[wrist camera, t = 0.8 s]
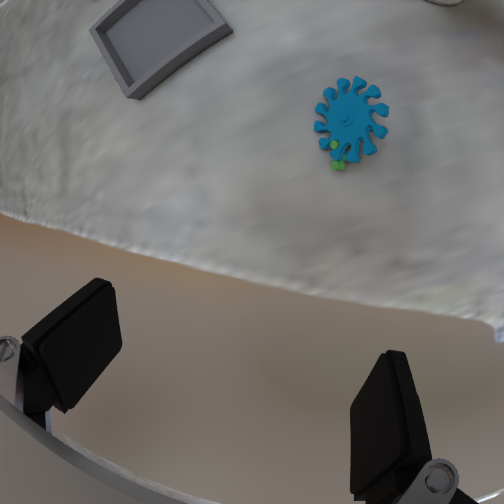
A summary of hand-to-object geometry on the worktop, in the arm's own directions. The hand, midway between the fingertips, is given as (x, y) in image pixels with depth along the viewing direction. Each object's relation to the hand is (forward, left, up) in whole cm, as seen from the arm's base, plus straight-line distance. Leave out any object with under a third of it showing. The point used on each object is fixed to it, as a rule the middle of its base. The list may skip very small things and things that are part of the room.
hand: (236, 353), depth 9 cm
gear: (-10, -4, -29) cm, 31 cm away
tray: (+3, -31, -29) cm, 42 cm away
